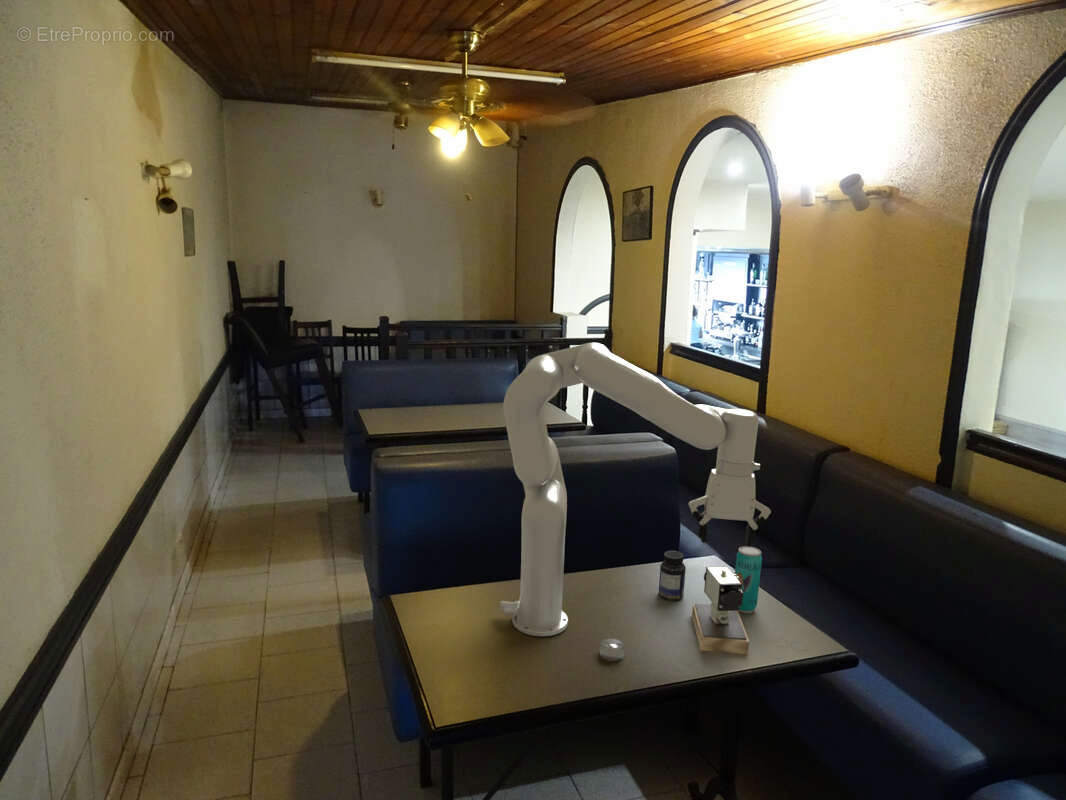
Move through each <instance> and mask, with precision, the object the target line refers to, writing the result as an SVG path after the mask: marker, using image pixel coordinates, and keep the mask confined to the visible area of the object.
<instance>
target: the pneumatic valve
mask: <svg viewBox="0 0 1066 800" xmlns="http://www.w3.org/2000/svg"><path fill="white" fill-rule="evenodd" d="M738 580H739V577H737V575H736V574H735V573H732V571H731V570H730V569H729V567H727V566H720V565H719V566H706V567H705V573H704V574H703V581H704V586H703V587H704V588H703V590H704V591H703V592H704V594H705V595H706V596H707V597H708V599H709V600H710V602H711V603H710V604H709V605H710V606H711V613H710V617H711V619H712V620H713V622H714V623H715V624H718V623H721V624H729V622H730V621H729V613H730V612H731V611H738V612H739V606H742V603H743V592H742V590H741V586H742V584H741V583H740V582H739V581H738Z"/></svg>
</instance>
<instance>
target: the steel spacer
mask: <svg viewBox="0 0 1066 800" xmlns="http://www.w3.org/2000/svg"><path fill="white" fill-rule="evenodd" d="M599 646H600V647H599V656H600V658H601V657H602V658H601V659H603V658H604V659H606V660H610V661H609V662H611V661H617V660H620V659H622V658H623V659H624V657H623V656H625V655H624V654H625V644H624V642H623V641H621V640H620V639H616V638H605V639H603V640H601V641H600V645H599ZM604 659H603V660H604ZM623 659H622V660H623ZM606 660H605V661H606ZM620 661H621V660H620ZM617 662H618V661H617Z"/></svg>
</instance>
